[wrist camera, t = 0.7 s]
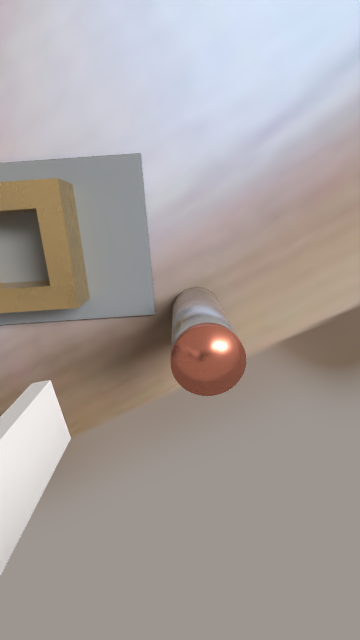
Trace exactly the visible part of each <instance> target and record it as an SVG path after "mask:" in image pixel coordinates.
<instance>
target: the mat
mask: <svg viewBox="0 0 360 640" xmlns="http://www.w3.org/2000/svg"><path fill="white" fill-rule="evenodd" d="M50 178H59V179H61V180H64V181H66V182H69V183H71V184H73V190H74V197H75V203H76V210H77V216H78V223H79V230H80V236H81V243H82V249H83V256H84V263H85V269H86V276H87V282H88V289H89V296H90V299H89V300H87V301H86V302H85V303H84V304H83V305H82V306H80V307H79V308H70V309H55V310H40V311H26V312H11V313H0V325H5V324H20V323H35V322H50V321H65V320H80V319H95V318H110V317H125V316H140V315H155V304H154V293H153V282H152V271H151V260H150V249H149V238H148V227H147V216H146V205H145V194H144V183H143V172H142V161H141V153H136V154H121V155H107V156H93V157H78V158H64V159H50V160H35V161H21V162H7V163H0V182H7V181H21V180H35V179H50ZM39 280H49V275H48V270H47V265H46V259H45V254H44V249H43V243H42V238H41V233H40V227H39V222H38V216H37V212H23V213H8V214H0V282H1V283H10V282H25V281H39Z"/></svg>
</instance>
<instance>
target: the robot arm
mask: <svg viewBox="0 0 360 640" xmlns="http://www.w3.org/2000/svg"><path fill="white" fill-rule="evenodd" d="M70 439H71V437H70V434H69V431H68V429H67V426H66V423H65V420H64V417H63V414H62V412H61V409H60V406H59V403H58V400H57V397H56V395H55V392H54V389H53V386H52V383H51V380H48V381H42V382H37V383H32V384H31V385H30V386H29V387H28V388H27V389H26V390H25V391H24V392H23V393H22V394H21V395H20V397H19V398H18V399H17V400H16V401H15V402H14V403H13V404H12V405H11V406H10V407H9V408H8V409H7V410H6V411H5V412H4V414H3V415H2V416H1V417H0V575H1V573H2V571H3V570H4V568H5V566H6V564H7V561H8V560H9V558H10V556H11V554H12V552H13V550H14V548H15V546H16V544H17V542H18V540H19V538H20V536H21V534H22V533H23V531H24V529H25V527H26V525H27V523H28V521H29V519H30V517H31V515H32V513H33V511H34V509H35V507H36V505H37V503H38V501H39V499H40V498H41V495H42V494H43V492H44V490H45V488H46V486H47V484H48V482H49V480H50V478H51V476H52V474H53V472H54V470H55V468H56V466H57V464H58V463H59V461H60V459H61V457H62V455H63V453H64V451H65V449H66V447H67V445H68V443H69V441H70Z"/></svg>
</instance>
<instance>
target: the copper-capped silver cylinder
mask: <svg viewBox="0 0 360 640" xmlns="http://www.w3.org/2000/svg"><path fill="white" fill-rule="evenodd" d="M245 366H246V354H245V350H244V347H243V345H242V344H241V342H240V340H239V338H238V336H237V334H236V333H235V331H234V329H233V327H232V325H231V323H230V322H229V320H228V318H227V316H226V314H225V312H224V311H223V309H222V307H221V305H220V303H219V301H218V300H217V298H216V296H215V295H214V294H213V293H212V292H210V291H209V290H207V289H204V288H200V287H194V288H189V289H187V290H185V291H183V292H182V293H180V294H179V295H178V297H177V298H176V300H175V302H174V305H173V316H172V342H171V369H172V373H173V375H174V377H175V379H176V380H177V382H178V383H179V384H180V385H181V386H182V387H183V388H184V389H186V390H187V391H189V392H191V393H194V394H197V395H202V396H212V395H217V394H221V393H223V392H226V391H228V390H229V389H231V388H232V387H233V386H234V385H236V383H237V382H238V381H239V380H240V378H241V377H242V375H243V373H244V370H245Z"/></svg>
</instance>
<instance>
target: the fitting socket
mask: <svg viewBox="0 0 360 640" xmlns="http://www.w3.org/2000/svg"><path fill="white" fill-rule="evenodd" d="M23 212H37V216H38V222H39V227H40V233H41V238H42V243H43V249H44V254H45V259H46V265H47V270H48V275H49V280H39V281H25V282H10V283H1V282H0V313H11V312H26V311H40V310H55V309H70V308H79V307H80V306H82V305H83V304H84V303H85V302H86V301H87V300H89V299H90V296H89V289H88V282H87V276H86V269H85V263H84V256H83V249H82V243H81V236H80V230H79V223H78V216H77V210H76V203H75V197H74V190H73V184H71V183H69V182H66V181H64V180H61V179H59V178H50V179H35V180H21V181H7V182H0V214H8V213H23Z"/></svg>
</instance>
